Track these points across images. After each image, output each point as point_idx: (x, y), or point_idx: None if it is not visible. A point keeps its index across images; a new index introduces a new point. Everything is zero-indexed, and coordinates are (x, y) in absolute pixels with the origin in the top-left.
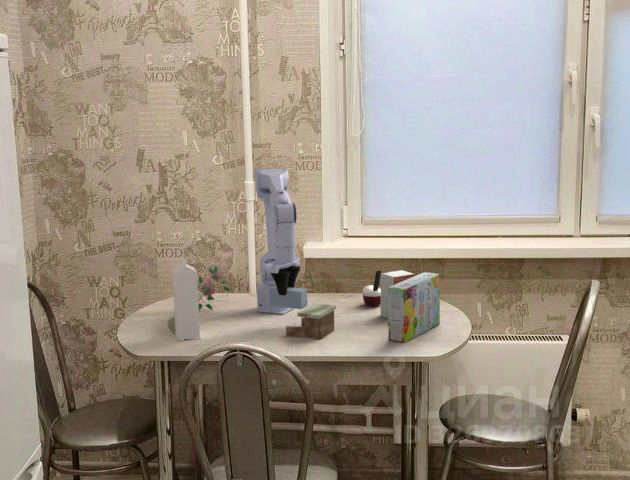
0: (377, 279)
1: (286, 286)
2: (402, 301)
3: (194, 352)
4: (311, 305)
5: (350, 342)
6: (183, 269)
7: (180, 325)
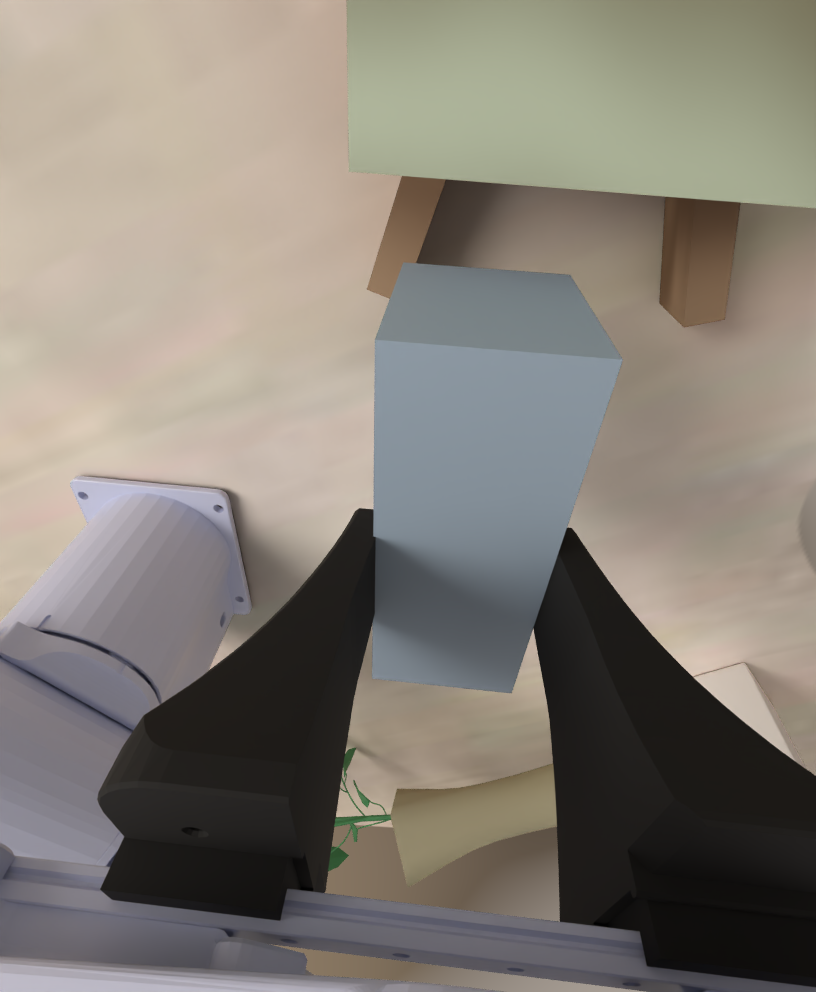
0: None
1: (605, 599)
2: None
3: None
4: (471, 173)
5: None
6: None
7: (805, 768)
